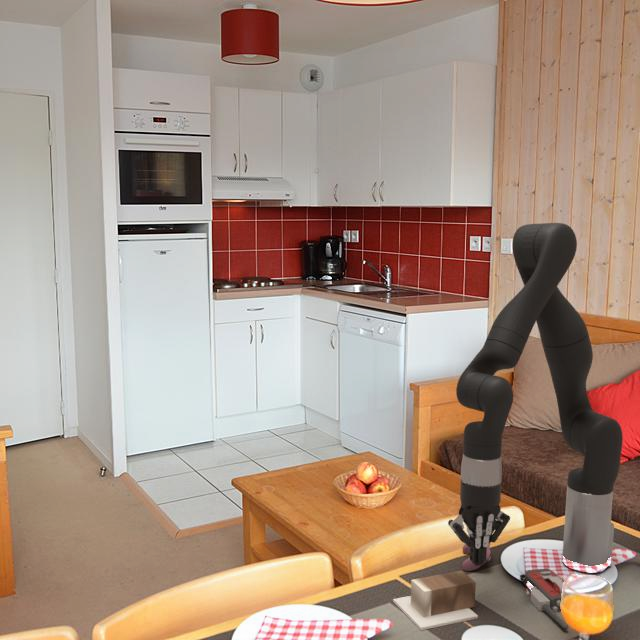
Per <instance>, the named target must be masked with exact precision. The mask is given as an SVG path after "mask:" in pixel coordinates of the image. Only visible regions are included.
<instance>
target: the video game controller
mask: <svg viewBox="0 0 640 640" xmlns="http://www.w3.org/2000/svg"><path fill="white" fill-rule="evenodd" d="M490 548H491V543H489V544H488V546H487V554H486V561H485V562H484V564H486V562H489V561H490V560H491V559H492V557H491V556H492V555H490V554H491V551H492V550H491V549H490ZM461 551H462V553H464V554H466V555H470V547H468V546H467V545H466V544H465V543H464V545H463V546H462V549H461ZM480 567H481V566H476V565H474V564H473V563H472V561H470V556H469V557H468V558H466V559H465V560H464V561H463V562H462V564H461V568H462V571H465V572H471V571H475V570H477V569H478V568H480Z"/></svg>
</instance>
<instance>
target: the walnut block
mask: <svg viewBox="0 0 640 640" xmlns="http://www.w3.org/2000/svg"><path fill="white" fill-rule="evenodd" d="M476 583H477V582H476V581H475V580H474V579H472V578H471V577H470V576H469V575H468V574H467V573H466V572H464V570H457V571H452V572H446V573H442V574H441V573H440V574H435V575H429V576H425V577H420V578H415V579H411V583H410V596H411V605H412V606H413V607H414V608H415V609H416V610H417V611H418V612H419V613H420V614H421V615H422V616H423V617H428V616H433V615H437V614H442V613H447V612H452V611H457V610H462V609H466V608H470V609H471V608H475V606H476V605H475V604H476V603H475V602H476V601H475V600H476V588H477V585H476Z"/></svg>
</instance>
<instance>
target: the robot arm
mask: <svg viewBox="0 0 640 640" xmlns="http://www.w3.org/2000/svg"><path fill="white" fill-rule="evenodd" d="M575 233H576V232H575V231H574V230H573V228H572V227H571V226H570V225H568V224H565V223H562V222H548V223H547V222H546V223H528V224H523V225H521V226H519V227H518V228H517V229H516V231H515V232H514V234H513V237H512V243H511V244H512V245H511V246H512V255H513V259H514V262H515V265H516V267H517V270H518V273H519V275H520V278H521V281H522V283H523V287H522V289H520V290H519V291H518V292H517V294H515V295H514V297H513V298H511V300H510V301H508V302H507V304H505V306H504V307H503V308H502V309H501V310H500V312H499V313H498V315H497V316H496V317H495V318H494V319H495V320H494V321H493V323H492V325H491V328H490V330H489V332H488V334H487V337H486V339H485V341H484V344H483V346H482V347H481V349H480V351H479V352H477V354H476V355H475V356H474V358H473V359H472V361H470V363H469V364H468V365H467V367H466V368H465V369H464V370H463V372H462V373H461V375H460V376H459V378H458V380H457V383H456V387H455V388H456V391H455V393H456V398H457V399H456V400H457V401H458V403H459V404H460V405H461V406H463V407H464V408H468V409H471V410H475V411H478V412H482V413H483V418H482V420H478V421H477V420H476V421H471V422H469V423H467V424H466V425H465V427H464V431H463V440H462V441H463V443H462V444H463V446H462V447H463V448H462V460H461V465H460V466H461V467H460V487H459V488H460V490H459V491H460V492H459V500H460V508H459V509H458V516H456V518H454V519H449V520H448V521H447V525H448V526H449V527H450V529H452V531H453V533H454V534H455V535H456V537H458V539H459V540H460V541H461V543H464V545H465V544H466V545H467V546H468V547H470V554H469V557H470V561H472V563H473V564H474V565H476V566H480V567H481V566H484V565H485V563H486V562H487V561H486V554H487V546H488V544H489V543H490V544H491V543H493V544H494V543H496V541H497V540H498V539H499V537H500V536H501V534H502V532H503V531H504V529H505V528H506V526H507V525H508V524H509V522H510V520H511V516H509V514H507V513H505V512H504V511H501V506H500V503H501V499H502V498H501V495H502V477H503V476H502V475H503V474H502V472H503V467H502V466H503V465H502V445H503V443H502V442H503V441H502V440H503V439H502V438H503V434H504V430H505V427H506V423H507V420H508V417H509V414H510V412H511V409H512V406H513V402H514V390H513V387H512V385H511V383H510V381H509V380H508V379H507V378H505V377H503V376H499V375H495V374H496V373H497V372H499V371H501V370H510V369H514V368H515V367H516V366H517V365H518V363H519V361H520V358H521V356H522V353H523V351H524V349H525V346H526V344H527V343H528V342H527V341H528V339H529V337H530V334H531V332H532V330H533V328H534V327H535V324H537V328H538V332H539V337H540V341H541V344H542V349H543V352H544V356H545V358H546V362H547V366H548V369H549V373H550V376H551V380H552V381H551V382H552V384H553V388H554V393H555V396H556V402H557V407H558V415H559V416H558V417H559V423H560V428H561V433H562V437H563V439H564V442H565V444H566V445H567V446H568V447H569V448H570V449H572V450H573V451H575V452H577V453H579V454H581V455H584V456H583V458H584V459H583V465H582V467H577V468H573V469H571V470H570V471H569V472H568V474H567V480H566V482H567V483H566V498H565V509H564V510H565V512H564V514H565V515H564V526H563V527H564V528H563V539H562V540H563V542H562V543H563V544H562V555H563V556H564V557H565V558H566V559H568V560H570V561H573V562H577V563H580V564H583V565H588V566H595V565H600V564H604V563H606V562H607V560H608V558H610V557H613V547H614V545H613V544H614V533H615V525H614V523H613V522H612V511H613V510H612V509H613V499H614V498H613V497H614V486H615V482H616V481H617V478H618V477H619V473H620V463H621V457H622V449H623V441H624V439H623V431H622V427H621V424H620V423H619V422H618V421H617V420H616V419H614V418H612V417H610V416H608V415H604V414H602V413H599V412H595V410H594V409H593V407H592V405H591V402H590V399H589V395H588V391H587V390H588V389H587V380H588V377H589V373H590V370H591V367H592V364H593V359H594V358H593V357H594V356H593V355H594V354H593V348H592V347H593V346H592V343H591V338H590V335H589V331H588V327H587V325H586V322H585V321H584V319H583V318H582V316H581V315H580V314H579V312H578V311H577V309H576V308H575V307H574V306H573V305H572V303H571V302H570V301H569V300H568V299H567V298H566V297H565V296H564V294H563V293H562V291H561V290H560V288H559V287H558V286H559V284H560V282H561V281H562V279H563V277H564V276H565V275H566V273H567V271H568V270H569V268H570V266H571V265H572V263H573V260H574V258H575V256H576V252H577V247H578V241H577V237H576V234H575ZM465 526H466V532H467V533H466V532H465V530H464V529H465ZM485 561H486V562H485ZM484 562H485V563H484Z"/></svg>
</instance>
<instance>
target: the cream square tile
mask: <svg viewBox="0 0 640 640" xmlns="http://www.w3.org/2000/svg"><path fill="white" fill-rule="evenodd" d="M392 603H394V604H395V606H397V607H398V609H399V610H400V611H402V613H403V614H405V616H406V617H408V619H409V620H410V622H411V621H412V623H413V624H414V625H415V626H416V627H417V628H418V630H420V631H424V630H428V629H433V628H440V627H442V626H443V627H444V626H447V625H453V624H458V623H463V622H466V621H467V622H468V621H473V620H476V619H479V615H478V614H477V613H476V612H474V611H473V610H472V609H471V608H466V609H462V610H457V611H452V612H447V613H442V614H437V615H433V616H428V617H423V616H422V615H421V614H420V613H419V612H418V611H417V610H416V609H415V608H414V607H413V606H412V605H411V595H409V596H408V595H407V596H402V597H398V598H393V599H392Z"/></svg>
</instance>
